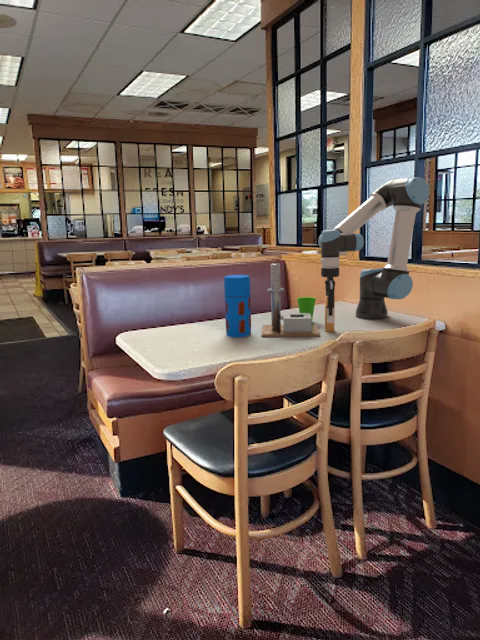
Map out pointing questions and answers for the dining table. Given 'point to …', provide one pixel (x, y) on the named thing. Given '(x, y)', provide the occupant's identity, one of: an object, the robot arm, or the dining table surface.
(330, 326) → the pin
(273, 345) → the dining table surface
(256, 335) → the dining table surface
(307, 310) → the cup
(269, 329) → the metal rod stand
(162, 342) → the dining table surface
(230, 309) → the thermos
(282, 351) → the dining table surface
